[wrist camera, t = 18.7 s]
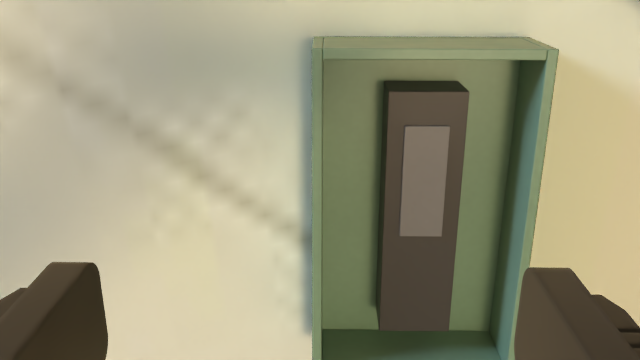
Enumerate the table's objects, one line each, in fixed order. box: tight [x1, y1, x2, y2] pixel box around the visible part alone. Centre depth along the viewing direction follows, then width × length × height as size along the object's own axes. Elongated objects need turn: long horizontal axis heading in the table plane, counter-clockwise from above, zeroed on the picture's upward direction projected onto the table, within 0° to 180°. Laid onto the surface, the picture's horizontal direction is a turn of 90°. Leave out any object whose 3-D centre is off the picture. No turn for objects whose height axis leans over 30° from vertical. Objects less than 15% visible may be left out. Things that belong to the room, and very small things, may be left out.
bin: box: [312, 37, 559, 360], centre depth 39 cm, size 13×21×5 cm, turn 0°
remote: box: [376, 81, 470, 331], centre depth 39 cm, size 5×16×3 cm, turn 0°
